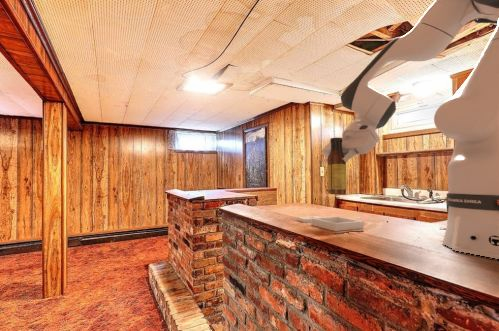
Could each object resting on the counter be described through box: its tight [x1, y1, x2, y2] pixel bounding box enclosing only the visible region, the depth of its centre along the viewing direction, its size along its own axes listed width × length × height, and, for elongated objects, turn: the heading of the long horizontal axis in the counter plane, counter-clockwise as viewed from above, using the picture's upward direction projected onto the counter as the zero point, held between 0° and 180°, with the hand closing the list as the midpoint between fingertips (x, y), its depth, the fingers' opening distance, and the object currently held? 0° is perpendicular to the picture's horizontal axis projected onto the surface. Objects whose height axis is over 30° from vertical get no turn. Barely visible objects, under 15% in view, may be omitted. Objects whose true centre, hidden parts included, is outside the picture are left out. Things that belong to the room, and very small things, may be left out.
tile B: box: [296, 216, 312, 223], centre depth 98 cm, size 5×5×1 cm
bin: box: [311, 216, 365, 236], centre depth 87 cm, size 12×13×4 cm
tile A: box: [310, 215, 325, 218], centre depth 100 cm, size 5×5×1 cm
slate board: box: [291, 218, 312, 224], centre depth 100 cm, size 10×12×1 cm
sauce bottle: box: [327, 137, 347, 196], centre depth 88 cm, size 6×6×20 cm
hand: (335, 161), depth 88 cm, fingers closed on sauce bottle, 6 cm apart
